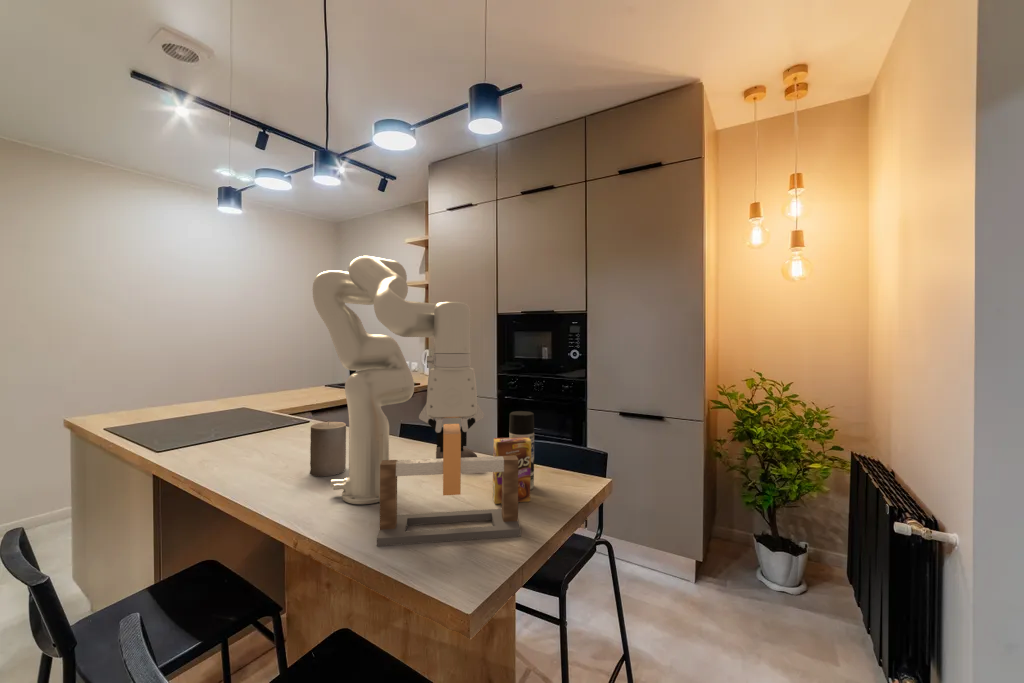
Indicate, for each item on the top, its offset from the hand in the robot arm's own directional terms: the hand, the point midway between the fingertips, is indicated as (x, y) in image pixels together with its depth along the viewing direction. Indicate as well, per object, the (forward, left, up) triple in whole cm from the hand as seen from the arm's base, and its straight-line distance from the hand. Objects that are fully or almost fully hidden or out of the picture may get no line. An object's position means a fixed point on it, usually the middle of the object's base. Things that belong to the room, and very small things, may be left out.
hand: (451, 449), depth 84 cm
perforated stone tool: (+3, +40, -17) cm, 43 cm away
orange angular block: (0, 0, -8) cm, 8 cm away
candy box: (+15, +13, -17) cm, 26 cm away
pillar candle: (-35, +41, -17) cm, 57 cm away
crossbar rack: (0, 0, -17) cm, 17 cm away
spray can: (+19, +21, -17) cm, 33 cm away
